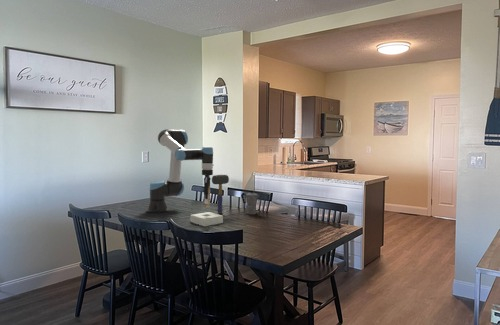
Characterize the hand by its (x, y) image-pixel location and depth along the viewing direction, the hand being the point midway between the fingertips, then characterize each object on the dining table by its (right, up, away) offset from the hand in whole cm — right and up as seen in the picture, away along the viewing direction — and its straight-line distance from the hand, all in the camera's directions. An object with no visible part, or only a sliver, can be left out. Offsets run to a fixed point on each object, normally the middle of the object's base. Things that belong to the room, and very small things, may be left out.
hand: (207, 202), depth 255 cm
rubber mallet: (+6, -12, +33) cm, 36 cm away
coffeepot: (+29, -12, +35) cm, 47 cm away
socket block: (0, -14, +1) cm, 14 cm away
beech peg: (0, -3, 0) cm, 3 cm away
